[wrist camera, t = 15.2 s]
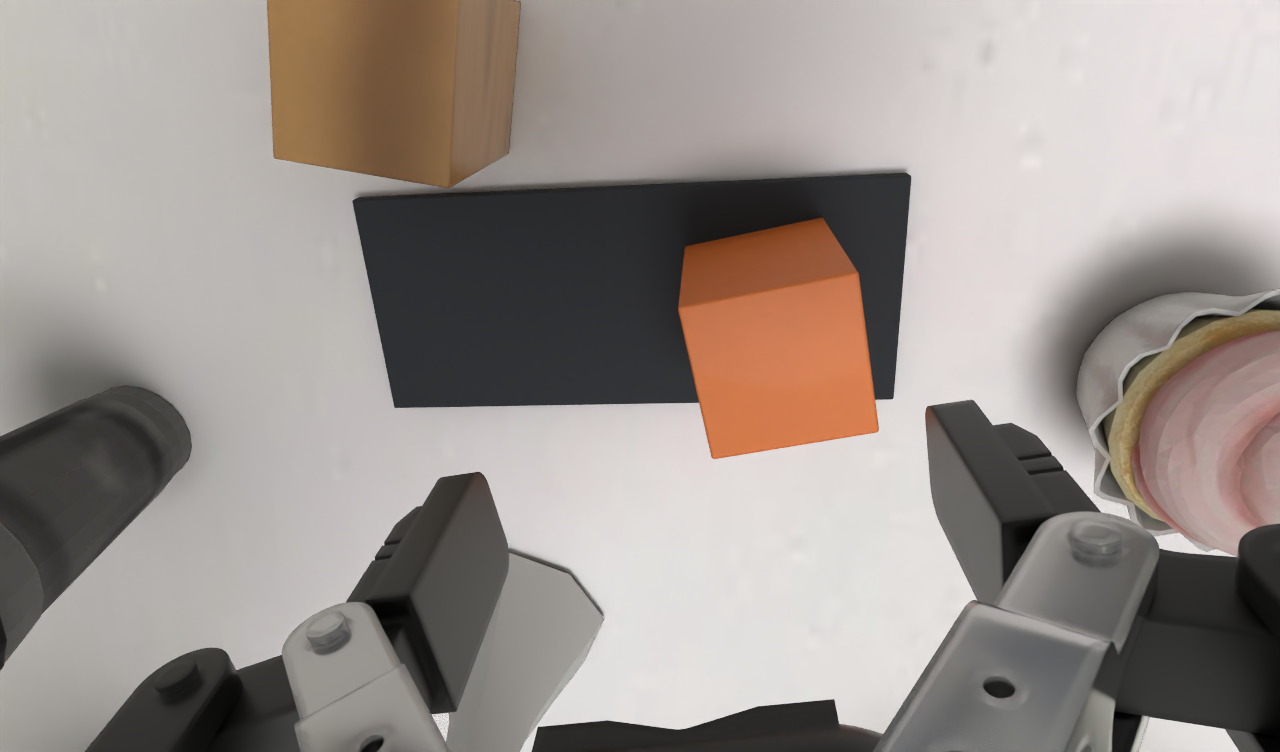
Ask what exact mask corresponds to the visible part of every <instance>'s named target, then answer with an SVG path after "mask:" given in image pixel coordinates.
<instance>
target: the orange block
mask: <svg viewBox="0 0 1280 752" xmlns="http://www.w3.org/2000/svg"><path fill="white" fill-rule="evenodd" d="M678 311H679V316H680V320H681V324H682V329H683V333H684V338H685V342H686V346H687V351H688V355H689V360H690V364H691V368H692V373H693V377H694V382H695V386H696V390H697V395H698V399H699V404H700V408H701V413H702V417H703V421H704V426H705V430H706V435H707V439H708V443H709V448H710V452H711V457H712V458H713V459H717V458H723V457H729V456H736V455H742V454H748V453H754V452H760V451H766V450H772V449H778V448H784V447H790V446H796V445H802V444H809V443H815V442H821V441H827V440H833V439H839V438H845V437H851V436H857V435H863V434H869V433H875V432H878V430H879V427H878V419H877V411H876V404H875V396H874V388H873V381H872V373H871V365H870V358H869V350H868V342H867V335H866V327H865V319H864V312H863V304H862V296H861V289H860V281H859V273H858V272H857V270H856V269H855V267H854V266H853V264H852V263H851V261H850V259H849V258H848V256H847V255H846V253H845V252H844V250H843V249H842V247H841V245H840V244H839V242H838V241H837V239H836V238H835V236H834V235H833V233H832V231H831V230H830V228H829V227H828V225H827V224H826V222H825V221H824V219H823V218H817V219H812V220H808V221H803V222H798V223H793V224H789V225H784V226H779V227H775V228H770V229H765V230H760V231H756V232H751V233H746V234H741V235H737V236H732V237H727V238H723V239H718V240H713V241H708V242H704V243H699V244H694V245H690V246H686V247H685V251H684V260H683V269H682V278H681V287H680V296H679V306H678Z"/></svg>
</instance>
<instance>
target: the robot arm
mask: <svg viewBox="0 0 1280 752" xmlns="http://www.w3.org/2000/svg"><path fill="white" fill-rule="evenodd" d="M925 419H926V433H927V447H928V460H929V473H930V485H931V493H932V498H933V503H934V507H935V511H936V514H937V517H938V520H939V522H940V524H941V526H942V528H943V530H944V532H945V534H946V536H947V539H948V541H949V543H950V545H951V547H952V549H953V551H954V553H955V555H956V557H957V559H958V561H959V563H960V565H961V567H962V569H963V572H964V574H965V576H966V578H967V580H968V582H969V584H970V586H971V588H972V590H973V592H974V594H975V596H976V598H977V600H978V601H977V600H972V601H971V602H969V603H968V604H967V605H966V606H965V608H964V609H963V610H962V612H961V614H960V615H959V617H958V618H957V620H956V621H955V623H954V625H953V626H952V628H951V629H950V631H949V632H948V634H947V636H946V637H945V639H944V640H943V642H942V643H941V645H940V646H939V648H938V650H937V651H936V653H935V654H934V656H933V657H932V659H931V661H930V662H929V664H928V665H927V667H926V668H925V670H924V672H923V673H922V675H921V676H920V678H919V679H918V681H917V683H916V684H915V686H914V687H913V689H912V690H911V692H910V694H909V695H908V697H907V698H906V700H905V701H904V703H903V705H902V706H901V708H900V709H899V711H898V712H897V714H896V715H895V717H894V719H893V720H892V722H891V723H890V725H889V726H888V728H887V730H886V731H885V733H884V734H880V733H878V732H875V731H871V730H867V729H863V728H859V727H855V726H849V725H842V724H839V722H838V717H837V711H836V706H835V701H834V699H833V700H823V701H812V702H801V703H790V704H780V705H769V706H758V707H755V708H752V709H749V710H745V711H742V712H739V713H736V714H732V715H729V716H726V717H723V718H720V719H716V720H713V721H710V722H707V723H703V724H700V725H697V726H694V727H691V728H687V729H681V730H675V729H666V728H659V727H651V726H644V725H636V724H629V723H621V722H614V721H598V722H587V723H577V724H566V725H555V726H545V727H538V729H537V733H536V737H535V741H534V745H533V749H532V752H1139V749H1140V746H1141V743H1142V740H1143V737H1144V734H1145V731H1146V728H1147V725H1148V722H1149V717H1154V718H1160V719H1167V720H1173V721H1179V722H1185V723H1192V724H1198V725H1204V726H1211V727H1217V728H1223V729H1226V731H1227V733H1228V735H1229V736H1230V738H1231V739H1232V741H1233V742H1234V744H1235V745H1236V747H1237V748H1238V750H1239V751H1240V752H1280V524H1271V525H1265V526H1261V527H1257V528H1255V529H1253V530H1250V531H1249V532H1247V533H1246V534H1244V535H1243V537H1242V538H1241V539H1240V542H1239V545H1238V554H1237V557H1228V556H1214V555H1201V554H1188V553H1179V552H1173V551H1168V550H1163V549H1159V545H1158V543H1157V541H1156V539H1155V538H1154V537H1153V535H1152V534H1151V533H1150V532H1148V531H1147V530H1146V529H1145V528H1143V527H1142V526H1140V525H1138V524H1137V523H1134V522H1132V521H1130V520H1128V519H1125V518H1122V517H1119V516H1115V515H1111V514H1106V513H1101V512H1100V510H1099V509H1098V508H1097V507H1096V506H1095V504H1094V503H1093V502H1092V501H1091V500H1090V499H1089V497H1088V496H1087V495H1086V494H1085V493H1084V491H1083V490H1082V489H1081V488H1080V487H1079V485H1078V484H1077V483H1076V482H1075V481H1074V479H1073V478H1072V477H1071V476H1070V475H1069V473H1068V472H1067V471H1066V470H1065V471H1064V470H1063V466H1062V465H1061V464H1060V463H1059V462H1058V460H1057V459H1056V458H1055V457H1054V456H1052V455H1051V452H1050V451H1049V450H1048V448H1047V447H1046V446H1045V445H1044V444H1043V442H1042V441H1041V440H1040V439H1039V438H1038V436H1036V435H1034V434H1032V433H1030V432H1028V431H1026V430H1024V429H1022V428H1020V427H1018V426H1017V425H1015V424H1013V423H1007V424H1000V425H992V424H991V423H990V421H989V420H988V419H987V417H986V416H985V415H984V413H983V412H982V411H981V409H980V408H979V407H978V405H977V404H976V403H975V401H973V400H966V401H960V402H953V403H946V404H939V405H933V406H928V407H927V408H926V414H925ZM384 543H385V546H382V547H381V548H380V550H379V551H378V553H377V554H376V556H375V561H372V562H371V564H370V565H369V567H368V569H367V570H366V572H365V573H364V575H363V576H362V578H361V579H360V581H359V583H358V584H357V586H356V587H355V589H354V590H353V592H352V593H351V595H350V597H349V598H348V600H347V601H346V603H342V604H338V605H335V606H332V607H329V608H327V609H324V610H322V611H320V612H318V613H316V614H315V615H313V616H311V617H310V618H308V619H307V620H305V621H304V622H303V623H301V624H300V625H299V626H298V627H297V628H296V629H295V630H294V631H293V632H292V633H291V634H290V635H289V637H288V638H287V640H286V641H285V643H284V645H283V649H282V655H280V656H277V657H274V658H272V659H269V660H266V661H263V662H260V663H257V664H254V665H251V666H248V667H245V668H242V669H239V670H236V669H235V667H234V665H233V663H232V662H231V660H230V658H229V656H228V654H227V653H226V652H225V651H224V650H222V649H219V648H204V649H200V650H196V651H193V652H189V653H187V654H184V655H182V656H180V657H178V658H176V659H174V660H172V661H170V662H168V663H167V664H165V665H163V666H162V667H160V668H159V669H157V670H156V671H155V672H153V673H152V674H151V675H150V676H148V677H147V678H146V679H145V680H144V681H143V682H142V683H141V684H140V685H139V686H138V687H137V688H136V690H135V691H134V692H133V693H132V695H131V696H130V697H129V698H128V699H127V701H126V702H125V703H124V704H123V706H122V707H121V708H120V709H119V710H118V712H117V713H116V714H115V715H114V717H113V718H112V719H111V720H110V721H109V723H108V724H107V725H106V726H105V728H104V729H103V730H102V731H101V732H100V734H99V735H98V736H97V737H96V739H95V740H94V741H93V742H92V743H91V745H90V746H89V747H88V748H87V750H86V751H85V752H451V751H450V749H449V748H448V746H447V744H446V742H445V740H444V738H443V736H442V734H441V732H440V730H439V729H438V727H437V725H436V723H435V721H434V719H433V717H432V715H431V714H439V713H449V712H457V709H458V706H459V703H460V701H461V698H462V695H463V693H464V690H465V687H466V685H467V682H468V679H469V677H470V674H471V671H472V669H473V666H474V663H475V660H476V658H477V655H478V652H479V650H480V647H481V644H482V642H483V639H484V636H485V634H486V631H487V628H488V626H489V623H490V620H491V618H492V615H493V612H494V609H495V607H496V604H497V601H498V599H499V596H500V593H501V591H502V588H503V585H504V583H505V580H506V577H507V574H508V570H509V550H508V544H507V540H506V537H505V534H504V531H503V528H502V525H501V522H500V519H499V516H498V513H497V509H496V506H495V503H494V500H493V497H492V494H491V491H490V488H489V485H488V483H487V480H486V478H485V477H484V475H483V474H482V473H480V472H475V473H468V474H461V475H454V476H448V477H442V478H440V479H439V480H438V481H437V483H436V484H435V486H434V488H433V489H432V491H431V492H430V494H429V496H428V497H427V499H426V501H425V502H424V504H423V506H419V507H416V508H415V509H413V510H412V511H411V512H410V513H409V514H407V515H406V516H405V517H404V518H403V519H402V520H400V521H399V522H398V523H397V524H396V525H395V526H394V528H393V530H392V531H391V533H390V534H389V536H388V537H387V539H386V540H385V542H384Z"/></svg>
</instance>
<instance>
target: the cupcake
mask: <svg viewBox="0 0 1280 752" xmlns="http://www.w3.org/2000/svg"><path fill="white" fill-rule="evenodd" d="M1077 400H1078V404H1079V407H1080V410H1081V412H1082V415H1083V417H1084V420H1085V422H1086V425H1087V427H1088V431H1089V434H1090V437H1091V440H1092V443H1093V446H1094V449H1095V474H1094V494H1096V495H1097V496H1099V497H1101V498H1102V499H1106V500H1109V501H1113V502H1116V503H1120V504H1123V505H1127V508H1128V512H1129V515H1130V519H1131V521H1132V522H1134V523H1137V524H1138V525H1140V526H1142V527H1143V528H1145V529H1146V530H1147V531H1148V532H1150V533H1151V534H1152V535H1153V536H1159V535H1166V534H1172V533H1181V534H1182V535H1183V536H1184V537H1185V538H1187V539H1188V540H1189V541H1190V542H1191V543H1193V544H1194V545H1195V546H1196V547H1197V548H1199V549H1201V550H1204V551H1206V552H1208V551H1211V550H1214V549H1218V550H1221V551H1224V552H1226V553H1229V554H1231V555H1234V556H1237V554H1238V545H1239V542H1240V539H1241V538H1242V537H1243V535H1244V534H1246V533H1247V532H1249V531H1250V530H1253V529H1255V528H1257V527H1261V526H1265V525H1271V524H1280V288H1279V289H1274V290H1270V291H1265V292H1261V293H1256V294H1251V295H1247V296H1242V297H1237V296H1227V295H1220V294H1212V293H1202V292H1182V293H1173V294H1166V295H1161V296H1158V297H1156V298H1153V299H1150V300H1148V301H1145V302H1143V303H1140V304H1138V305H1136V306H1134V307H1132V308H1130V309H1128V310H1127V311H1125V312H1123V313H1122V314H1120V315H1118V316H1117V317H1115V318H1114V319H1113V320H1112V321H1111V322H1110V323H1109V324H1108V325H1107V326H1106V327H1105V328H1104V329H1103V330H1102V331H1101V332H1100V333H1099V334H1098V335H1097V336H1096V338H1095V339H1094V340H1093V342H1092V343H1091V345H1090V346H1089V348H1088V349H1087V351H1086V352H1085V354H1084V357H1083V360H1082V363H1081V367H1080V370H1079V374H1078V380H1077Z"/></svg>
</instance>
